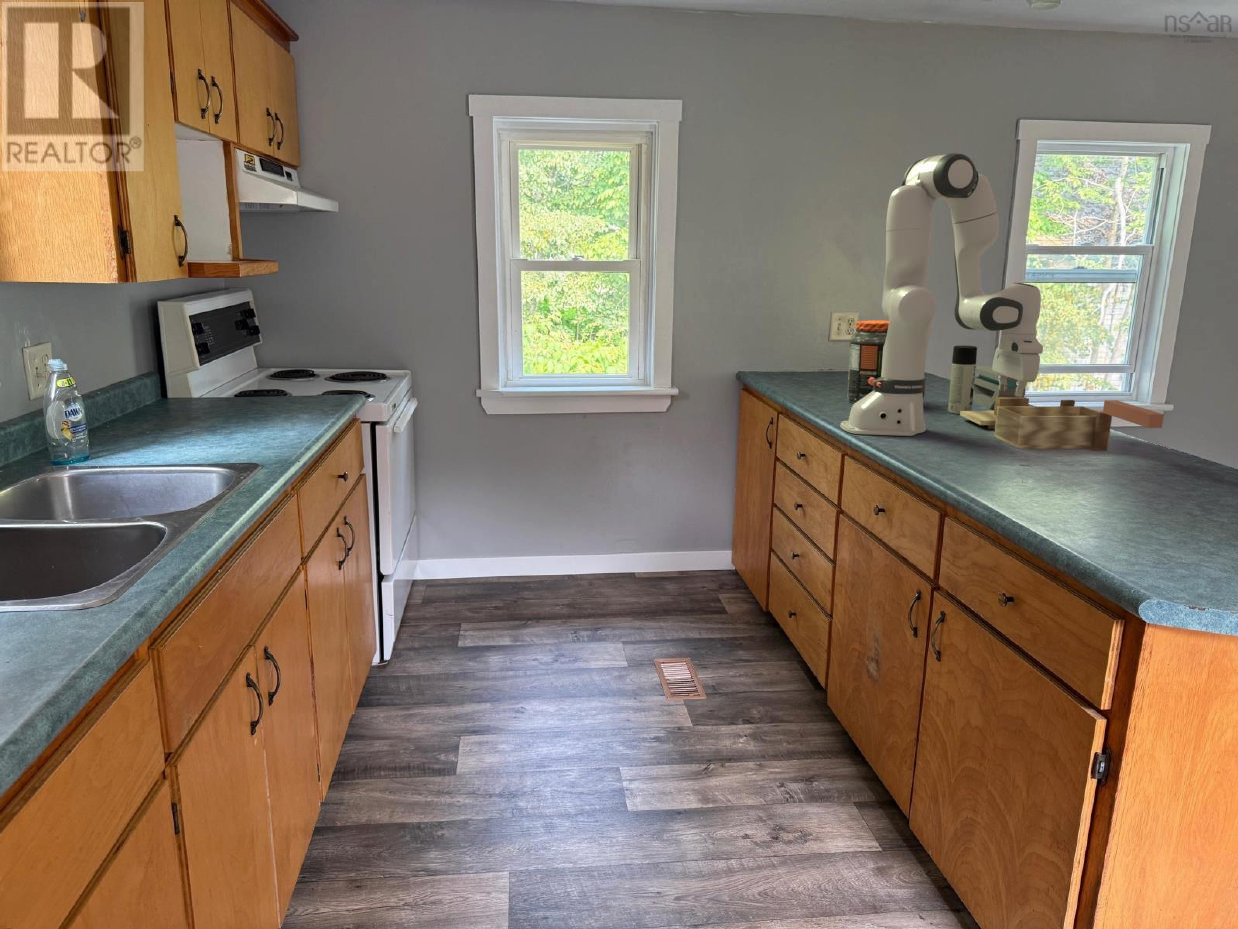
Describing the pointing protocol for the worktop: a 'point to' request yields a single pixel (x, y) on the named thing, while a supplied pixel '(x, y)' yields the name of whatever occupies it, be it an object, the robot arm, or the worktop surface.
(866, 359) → the supplement tub
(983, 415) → the toolbox lid
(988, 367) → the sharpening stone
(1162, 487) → the worktop surface
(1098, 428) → the toolbox
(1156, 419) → the bar
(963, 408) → the spray can
